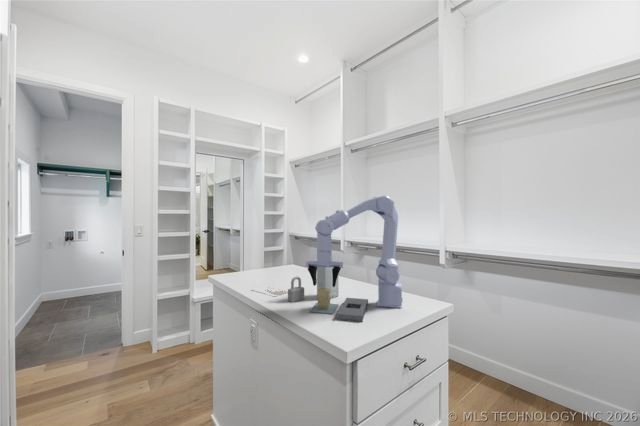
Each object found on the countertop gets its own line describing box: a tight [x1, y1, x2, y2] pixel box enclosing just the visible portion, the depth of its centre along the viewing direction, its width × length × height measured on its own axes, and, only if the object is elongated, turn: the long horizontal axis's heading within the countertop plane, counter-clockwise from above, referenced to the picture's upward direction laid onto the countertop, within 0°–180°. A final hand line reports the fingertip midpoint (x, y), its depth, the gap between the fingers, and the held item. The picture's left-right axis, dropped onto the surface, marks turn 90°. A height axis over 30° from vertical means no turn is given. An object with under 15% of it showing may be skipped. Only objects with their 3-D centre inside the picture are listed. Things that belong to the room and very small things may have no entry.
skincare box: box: [316, 265, 339, 299], centre depth 127 cm, size 8×6×15 cm
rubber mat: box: [308, 302, 339, 315], centre depth 111 cm, size 9×11×1 cm
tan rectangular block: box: [317, 288, 331, 310], centre depth 111 cm, size 4×4×7 cm
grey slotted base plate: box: [336, 297, 369, 323], centre depth 108 cm, size 9×20×2 cm, turn 165°
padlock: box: [287, 276, 305, 303], centre depth 122 cm, size 7×4×10 cm, turn 137°
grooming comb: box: [265, 289, 288, 296], centre depth 136 cm, size 18×10×1 cm, turn 50°
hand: (324, 285), depth 111 cm, fingers open, 7 cm apart
